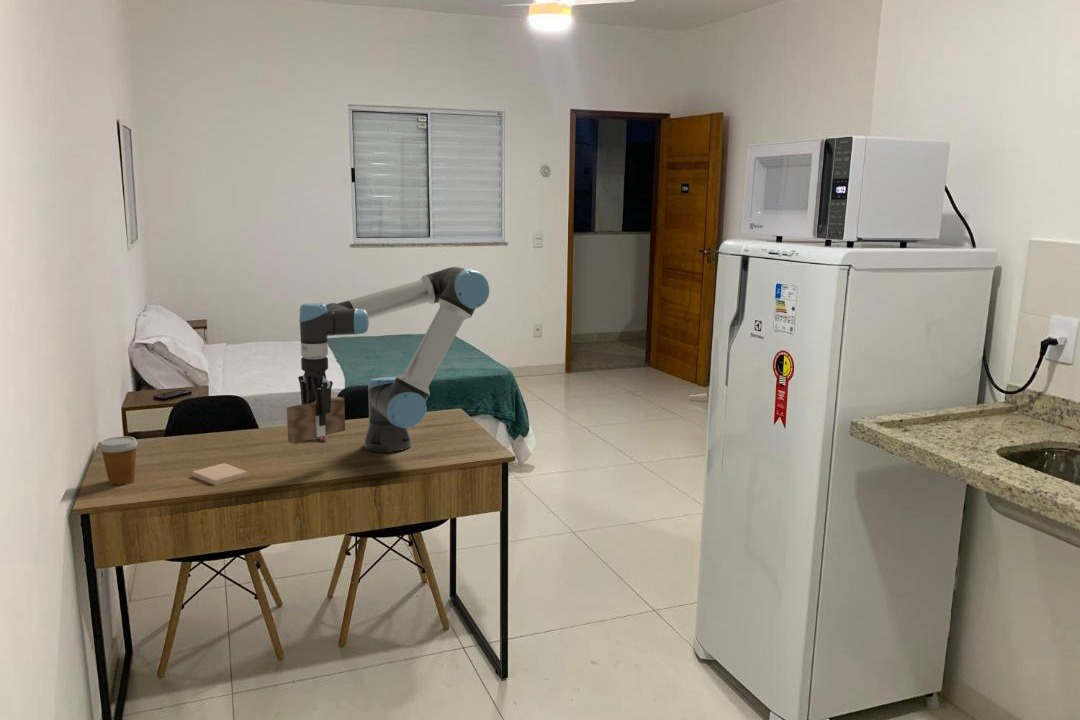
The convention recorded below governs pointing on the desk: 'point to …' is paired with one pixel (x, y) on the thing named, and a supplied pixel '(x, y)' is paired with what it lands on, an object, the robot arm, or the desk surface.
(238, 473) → the tile
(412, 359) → the robot arm
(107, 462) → the disposable coffee cup
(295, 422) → the wooden plank
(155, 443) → the desk surface
